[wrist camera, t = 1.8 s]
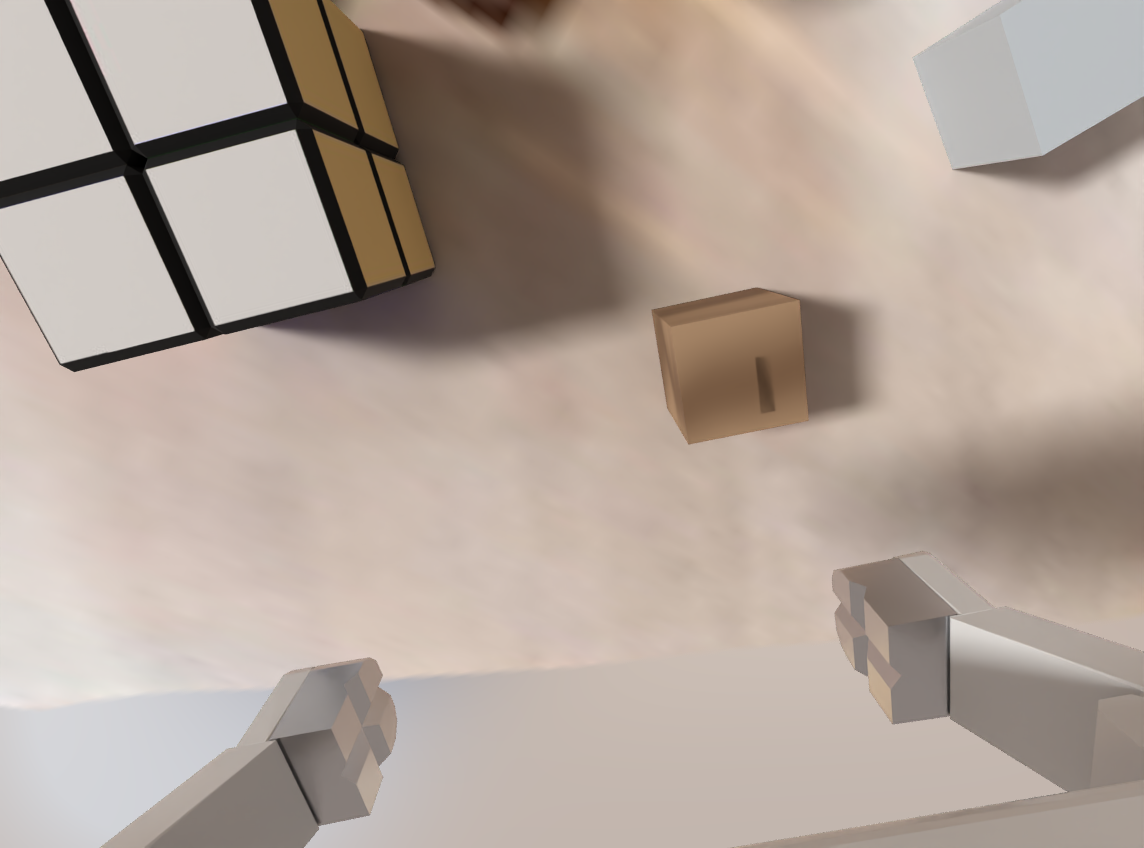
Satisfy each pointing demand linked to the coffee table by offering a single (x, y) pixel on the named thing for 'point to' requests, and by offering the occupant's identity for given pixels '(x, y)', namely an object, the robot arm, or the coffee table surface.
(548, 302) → the coffee table surface
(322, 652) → the coffee table surface
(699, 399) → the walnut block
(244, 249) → the puzzle cube
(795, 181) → the coffee table surface
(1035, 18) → the grey-blue block
